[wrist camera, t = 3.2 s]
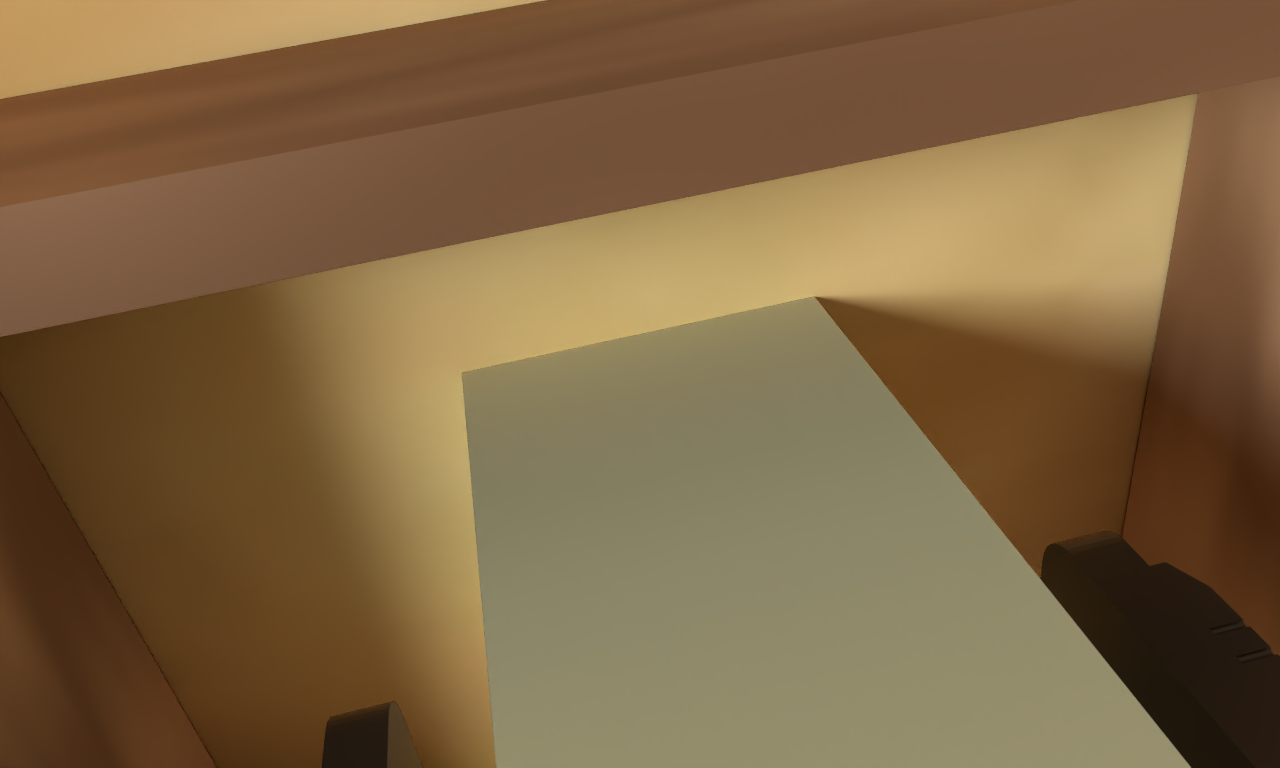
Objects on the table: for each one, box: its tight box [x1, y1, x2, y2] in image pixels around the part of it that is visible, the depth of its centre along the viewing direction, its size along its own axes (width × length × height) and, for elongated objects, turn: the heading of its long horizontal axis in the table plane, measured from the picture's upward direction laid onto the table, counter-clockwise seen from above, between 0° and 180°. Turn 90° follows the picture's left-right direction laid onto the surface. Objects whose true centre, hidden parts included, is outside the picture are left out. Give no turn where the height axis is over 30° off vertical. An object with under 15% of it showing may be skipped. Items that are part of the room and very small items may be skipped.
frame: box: [0, 0, 1280, 768], centre depth 13 cm, size 14×18×4 cm
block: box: [462, 297, 1191, 768], centre depth 11 cm, size 5×5×9 cm
